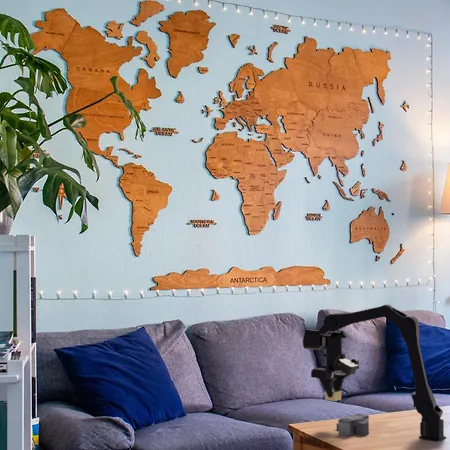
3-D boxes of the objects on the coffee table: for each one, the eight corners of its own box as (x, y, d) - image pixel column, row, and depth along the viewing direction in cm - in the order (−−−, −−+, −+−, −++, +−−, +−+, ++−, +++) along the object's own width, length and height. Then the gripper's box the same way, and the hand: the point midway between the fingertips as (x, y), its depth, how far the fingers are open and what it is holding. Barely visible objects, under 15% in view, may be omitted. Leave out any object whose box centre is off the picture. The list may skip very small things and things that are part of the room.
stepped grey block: (368, 433, 240) (368, 422, 240) (363, 435, 238) (363, 423, 238) (340, 428, 248) (340, 417, 248) (335, 429, 245) (335, 418, 246)
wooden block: (341, 399, 248) (341, 390, 249) (334, 401, 246) (334, 392, 246) (329, 397, 252) (329, 388, 252) (322, 399, 249) (322, 390, 249)
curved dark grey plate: (368, 429, 245) (368, 415, 245) (348, 436, 237) (348, 421, 237) (358, 427, 248) (358, 413, 248) (338, 434, 239) (338, 419, 240)
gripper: (337, 355, 237) (337, 403, 236) (368, 350, 250) (368, 396, 249) (310, 352, 244) (309, 399, 244) (341, 347, 258) (341, 391, 257)
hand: (333, 396), depth 248 cm, fingers closed on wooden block, 4 cm apart
